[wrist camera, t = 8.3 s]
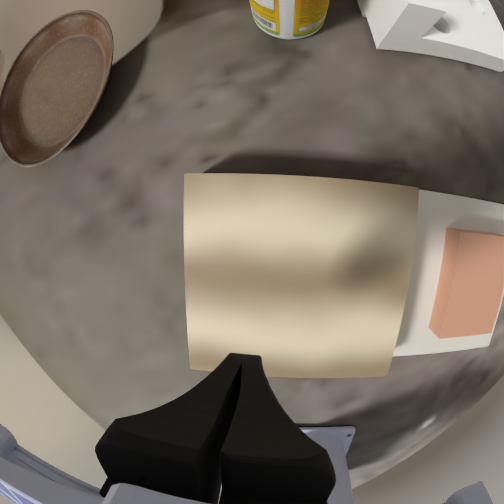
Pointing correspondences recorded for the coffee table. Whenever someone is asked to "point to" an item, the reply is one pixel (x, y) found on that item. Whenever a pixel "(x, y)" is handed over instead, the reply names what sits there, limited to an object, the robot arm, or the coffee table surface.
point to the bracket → (438, 29)
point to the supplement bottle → (289, 17)
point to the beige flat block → (297, 271)
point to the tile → (468, 284)
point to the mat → (429, 265)
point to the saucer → (54, 87)
